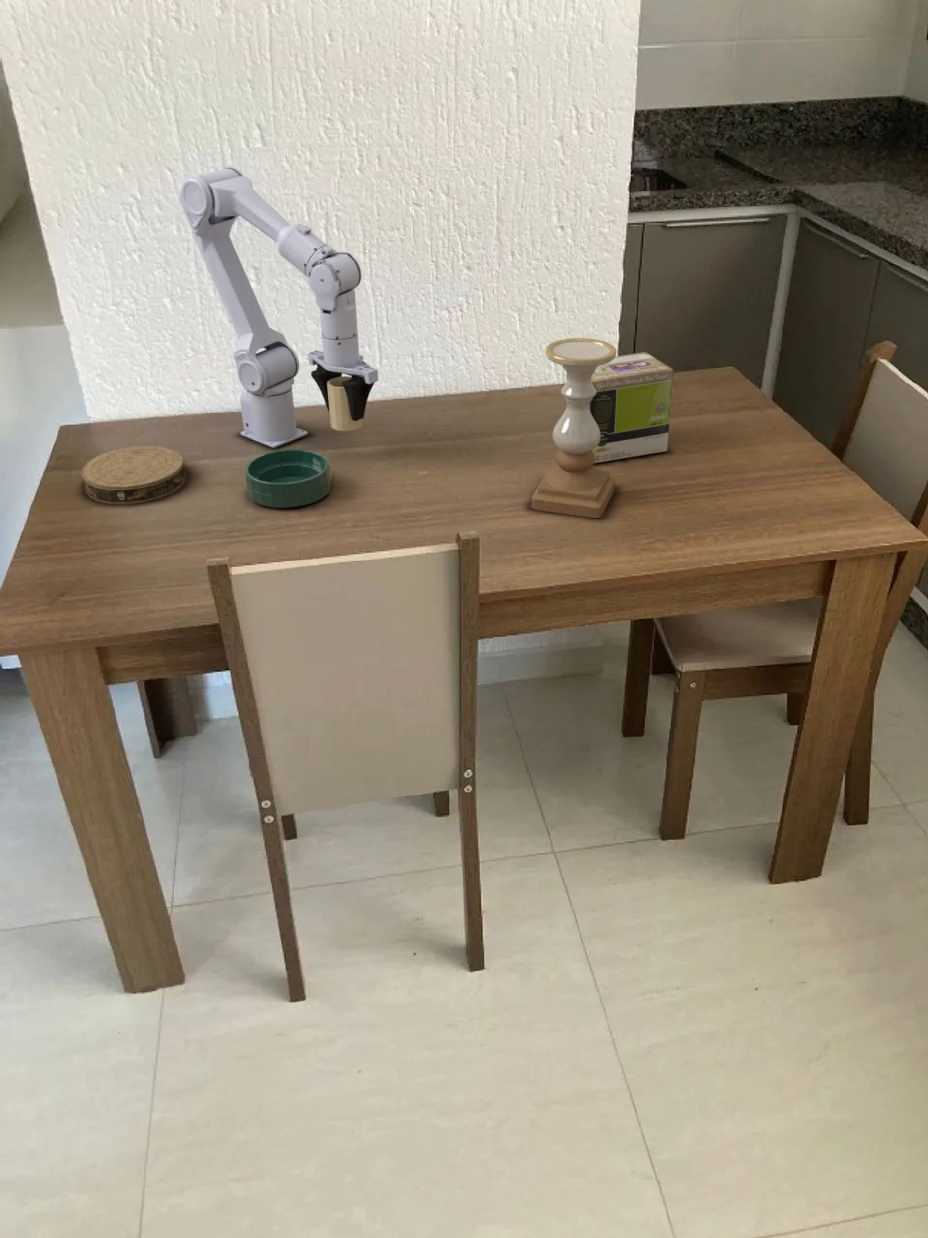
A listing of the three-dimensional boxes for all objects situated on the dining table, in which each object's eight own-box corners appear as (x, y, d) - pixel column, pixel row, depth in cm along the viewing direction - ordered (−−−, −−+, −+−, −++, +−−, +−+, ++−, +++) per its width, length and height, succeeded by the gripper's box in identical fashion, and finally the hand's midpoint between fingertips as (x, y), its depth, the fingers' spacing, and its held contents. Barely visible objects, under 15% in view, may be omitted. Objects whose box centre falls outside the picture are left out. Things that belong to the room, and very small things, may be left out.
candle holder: (615, 488, 162) (626, 340, 149) (599, 519, 153) (610, 364, 140) (548, 479, 165) (553, 333, 152) (529, 509, 157) (533, 356, 143)
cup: (324, 425, 171) (320, 382, 167) (347, 416, 174) (344, 373, 170) (346, 433, 168) (342, 390, 164) (369, 424, 171) (366, 381, 167)
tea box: (641, 431, 181) (648, 349, 173) (667, 453, 173) (676, 368, 165) (562, 443, 177) (566, 360, 169) (586, 466, 169) (591, 380, 161)
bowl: (232, 494, 162) (228, 468, 160) (294, 467, 170) (291, 442, 168) (285, 518, 155) (281, 491, 153) (347, 489, 163) (345, 463, 161)
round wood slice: (96, 464, 172) (92, 448, 171) (191, 459, 174) (188, 443, 172) (75, 507, 159) (71, 490, 158) (179, 501, 160) (176, 484, 159)
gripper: (389, 337, 161) (394, 418, 169) (327, 319, 169) (334, 397, 177) (357, 348, 157) (363, 431, 164) (295, 329, 165) (303, 409, 172)
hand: (346, 414), depth 170 cm, fingers closed on cup, 5 cm apart
